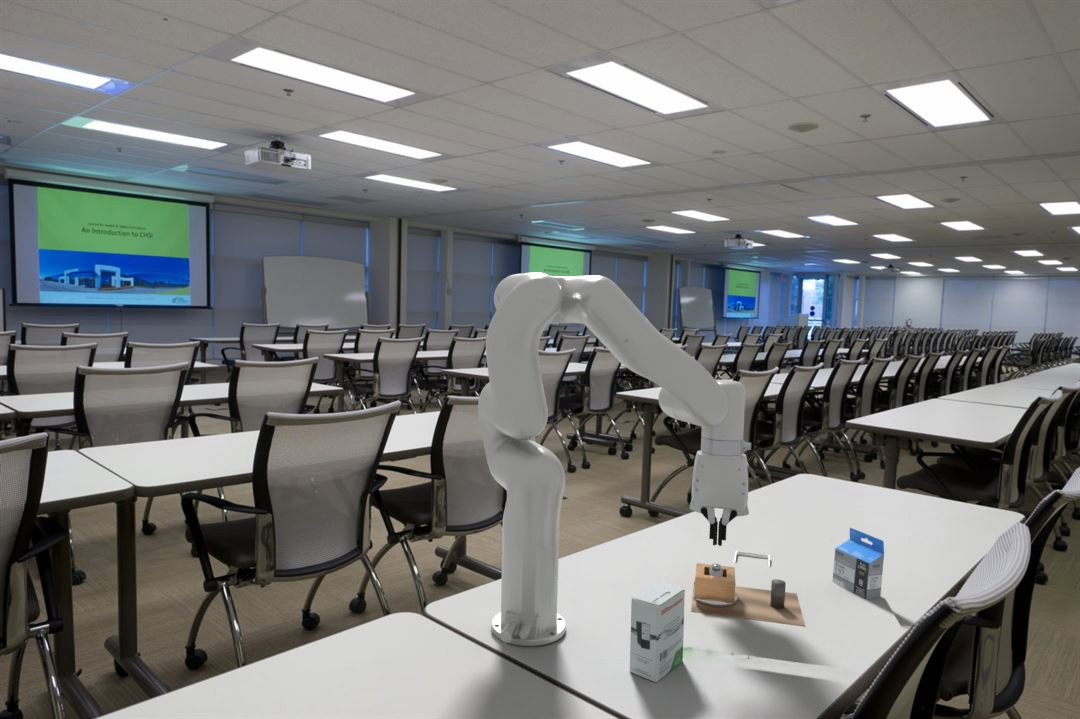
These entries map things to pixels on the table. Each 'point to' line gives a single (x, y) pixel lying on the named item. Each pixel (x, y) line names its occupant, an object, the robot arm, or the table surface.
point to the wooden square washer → (715, 584)
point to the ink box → (657, 630)
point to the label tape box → (859, 565)
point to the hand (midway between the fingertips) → (717, 543)
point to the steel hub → (713, 571)
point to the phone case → (752, 555)
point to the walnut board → (760, 605)
